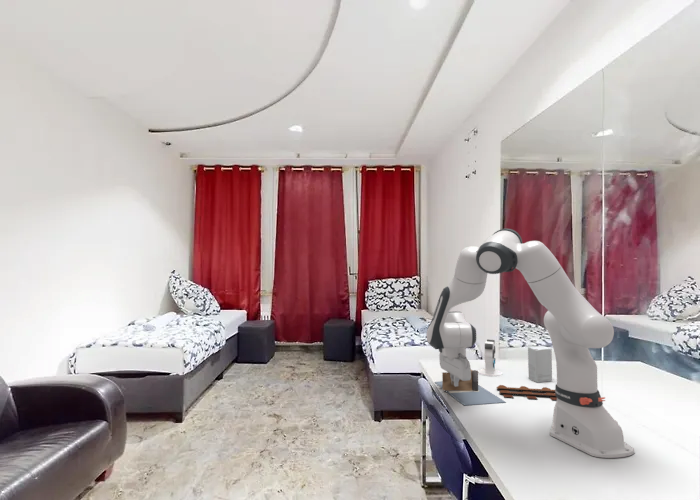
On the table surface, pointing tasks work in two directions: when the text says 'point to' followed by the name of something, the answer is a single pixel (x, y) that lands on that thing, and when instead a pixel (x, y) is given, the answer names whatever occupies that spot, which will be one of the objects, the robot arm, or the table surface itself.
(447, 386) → the swing panel
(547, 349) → the skincare box
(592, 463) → the table surface
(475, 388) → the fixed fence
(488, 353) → the white upright piece
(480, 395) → the card
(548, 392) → the decorative fence
